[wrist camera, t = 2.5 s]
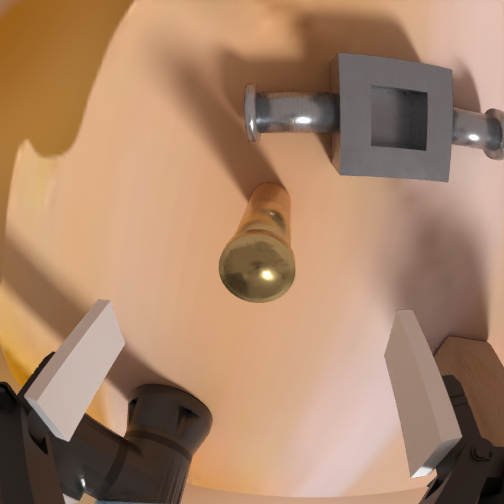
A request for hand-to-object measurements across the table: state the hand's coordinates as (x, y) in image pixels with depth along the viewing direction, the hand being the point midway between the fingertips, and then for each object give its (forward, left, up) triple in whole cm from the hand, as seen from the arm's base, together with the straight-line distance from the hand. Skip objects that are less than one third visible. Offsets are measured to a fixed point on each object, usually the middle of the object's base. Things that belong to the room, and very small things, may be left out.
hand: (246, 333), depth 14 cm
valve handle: (0, 0, -20) cm, 20 cm away
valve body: (+11, +9, -20) cm, 24 cm away
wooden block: (+28, -24, -20) cm, 42 cm away
